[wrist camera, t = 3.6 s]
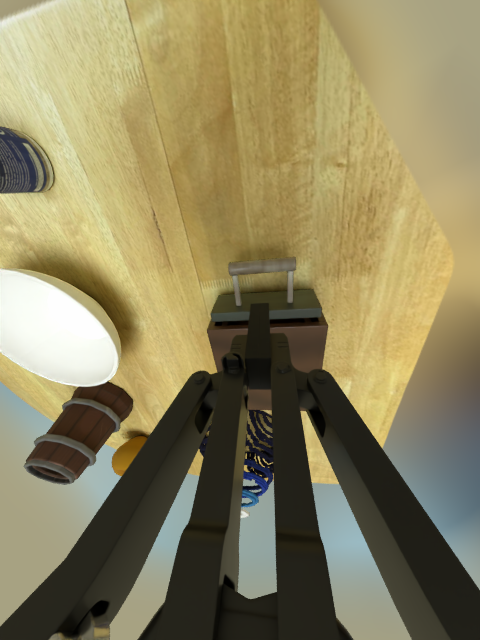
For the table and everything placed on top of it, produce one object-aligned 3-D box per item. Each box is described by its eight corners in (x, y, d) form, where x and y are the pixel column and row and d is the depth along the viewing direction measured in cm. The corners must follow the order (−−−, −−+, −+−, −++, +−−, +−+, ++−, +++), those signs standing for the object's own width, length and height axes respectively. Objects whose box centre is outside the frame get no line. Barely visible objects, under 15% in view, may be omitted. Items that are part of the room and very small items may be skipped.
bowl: (166, 332, 33) (146, 362, 28) (98, 369, 41) (71, 399, 35) (58, 221, 25) (-1, 232, 20) (-4, 292, 33) (-60, 315, 27)
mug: (87, 371, 41) (11, 451, 29) (141, 398, 45) (94, 480, 32) (71, 403, 49) (6, 477, 37) (119, 424, 52) (73, 499, 40)
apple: (126, 425, 52) (103, 464, 45) (160, 435, 53) (143, 475, 46) (124, 440, 57) (103, 478, 50) (155, 449, 58) (139, 487, 51)
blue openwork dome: (247, 459, 56) (243, 534, 44) (185, 429, 50) (161, 506, 38) (303, 435, 46) (317, 522, 34) (234, 394, 41) (221, 481, 29)
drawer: (210, 256, 25) (200, 270, 21) (316, 246, 23) (327, 259, 19) (232, 369, 35) (228, 393, 31) (306, 369, 34) (312, 394, 30)
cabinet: (217, 303, 29) (206, 330, 24) (315, 297, 27) (328, 325, 22) (232, 376, 38) (226, 409, 32) (308, 376, 36) (316, 411, 30)
